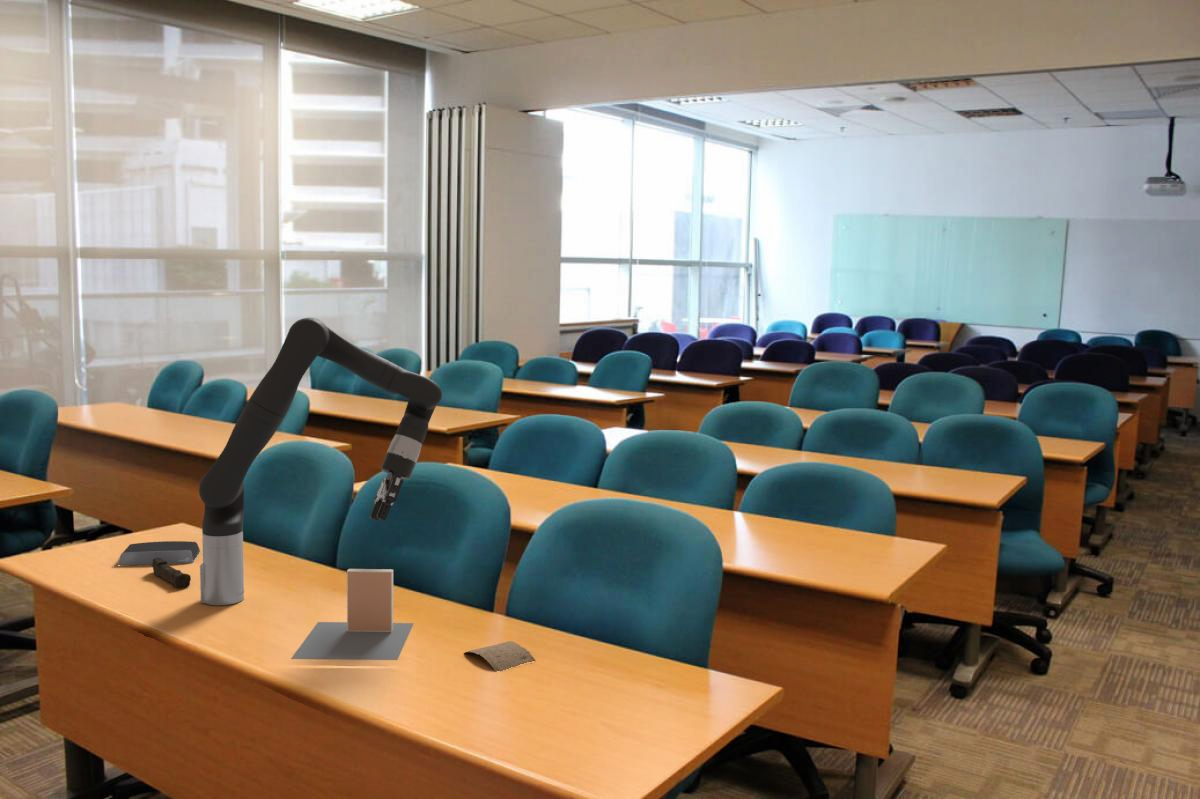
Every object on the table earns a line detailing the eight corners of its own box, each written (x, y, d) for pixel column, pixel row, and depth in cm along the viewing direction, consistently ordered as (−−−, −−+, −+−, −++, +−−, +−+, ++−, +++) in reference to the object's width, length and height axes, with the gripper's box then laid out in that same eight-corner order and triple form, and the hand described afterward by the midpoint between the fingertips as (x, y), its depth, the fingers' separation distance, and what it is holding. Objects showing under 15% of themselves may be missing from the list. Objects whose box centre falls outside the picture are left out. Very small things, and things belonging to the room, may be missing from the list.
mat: (290, 660, 199) (290, 658, 199) (318, 624, 221) (318, 621, 221) (397, 662, 200) (397, 659, 200) (413, 625, 222) (413, 623, 222)
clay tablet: (538, 665, 202) (538, 652, 201) (498, 677, 195) (498, 664, 195) (498, 645, 212) (498, 633, 212) (459, 655, 206) (460, 643, 206)
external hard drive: (192, 565, 265) (192, 551, 265) (116, 568, 261) (116, 554, 260) (200, 552, 278) (200, 539, 277) (128, 555, 273) (127, 541, 273)
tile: (347, 631, 215) (346, 570, 214) (348, 628, 217) (348, 568, 215) (391, 631, 216) (391, 571, 214) (393, 629, 217) (393, 569, 216)
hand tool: (191, 588, 245) (191, 570, 244) (175, 591, 242) (175, 573, 242) (165, 571, 259) (164, 554, 258) (149, 573, 256) (149, 557, 255)
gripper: (381, 453, 240) (357, 514, 235) (393, 448, 227) (368, 513, 223) (409, 464, 242) (385, 524, 238) (422, 460, 229) (398, 524, 225)
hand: (377, 519), depth 230 cm, fingers open, 8 cm apart
